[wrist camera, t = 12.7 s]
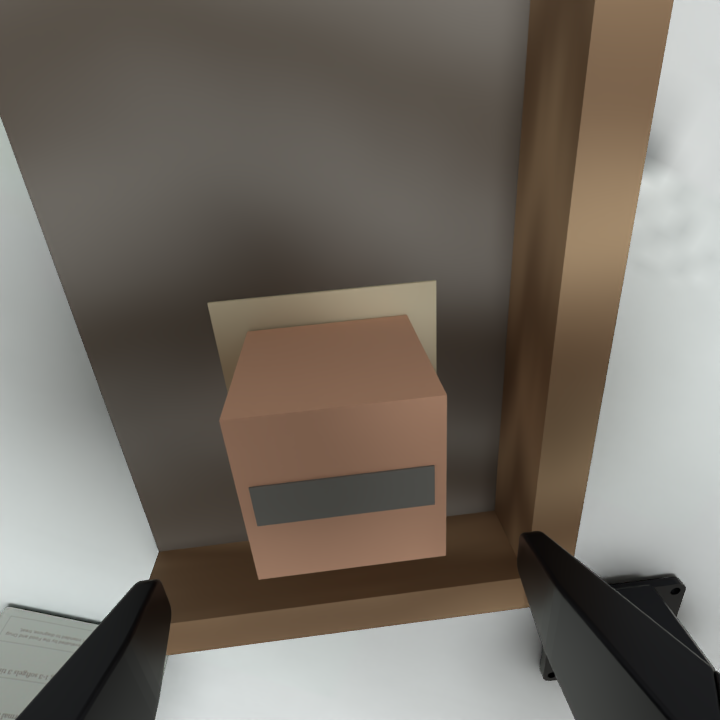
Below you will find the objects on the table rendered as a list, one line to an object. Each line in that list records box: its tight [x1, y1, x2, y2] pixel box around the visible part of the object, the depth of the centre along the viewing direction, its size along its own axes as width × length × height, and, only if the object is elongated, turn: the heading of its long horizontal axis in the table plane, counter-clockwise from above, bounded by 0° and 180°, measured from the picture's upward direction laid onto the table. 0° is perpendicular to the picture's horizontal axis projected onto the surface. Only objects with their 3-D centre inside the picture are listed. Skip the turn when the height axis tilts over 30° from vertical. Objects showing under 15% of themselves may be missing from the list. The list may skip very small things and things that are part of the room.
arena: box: [0, 0, 674, 655], centre depth 14 cm, size 20×15×4 cm
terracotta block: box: [219, 315, 447, 580], centre depth 14 cm, size 5×5×5 cm
